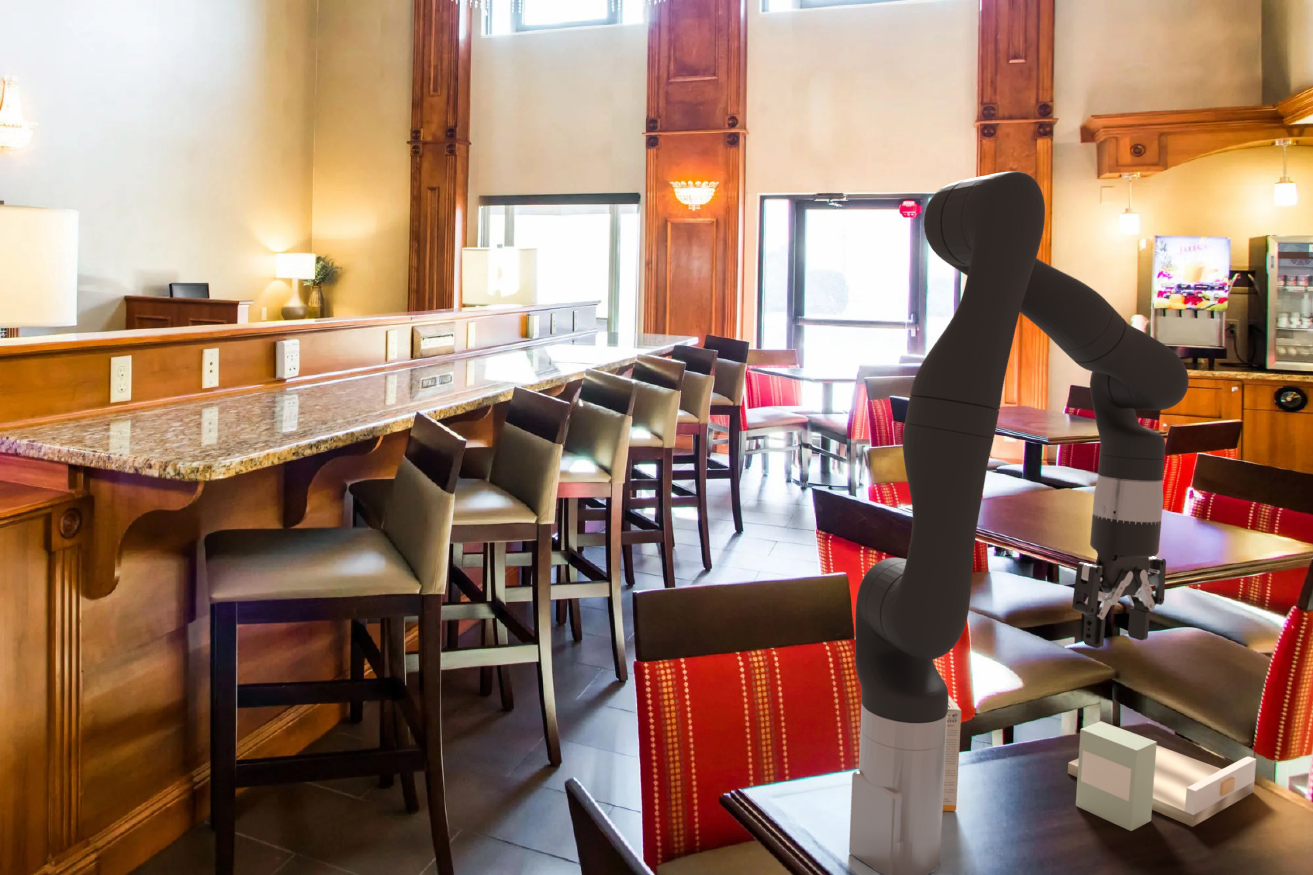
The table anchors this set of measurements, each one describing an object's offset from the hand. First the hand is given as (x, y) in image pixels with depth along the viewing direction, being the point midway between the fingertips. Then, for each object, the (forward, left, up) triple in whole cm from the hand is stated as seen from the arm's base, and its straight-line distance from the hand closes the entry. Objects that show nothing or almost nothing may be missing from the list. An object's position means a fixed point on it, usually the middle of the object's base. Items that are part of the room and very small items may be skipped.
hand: (1115, 642), depth 110 cm
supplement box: (-18, +13, -21) cm, 30 cm away
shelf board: (+11, -1, -21) cm, 24 cm away
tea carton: (-2, -2, -21) cm, 21 cm away
